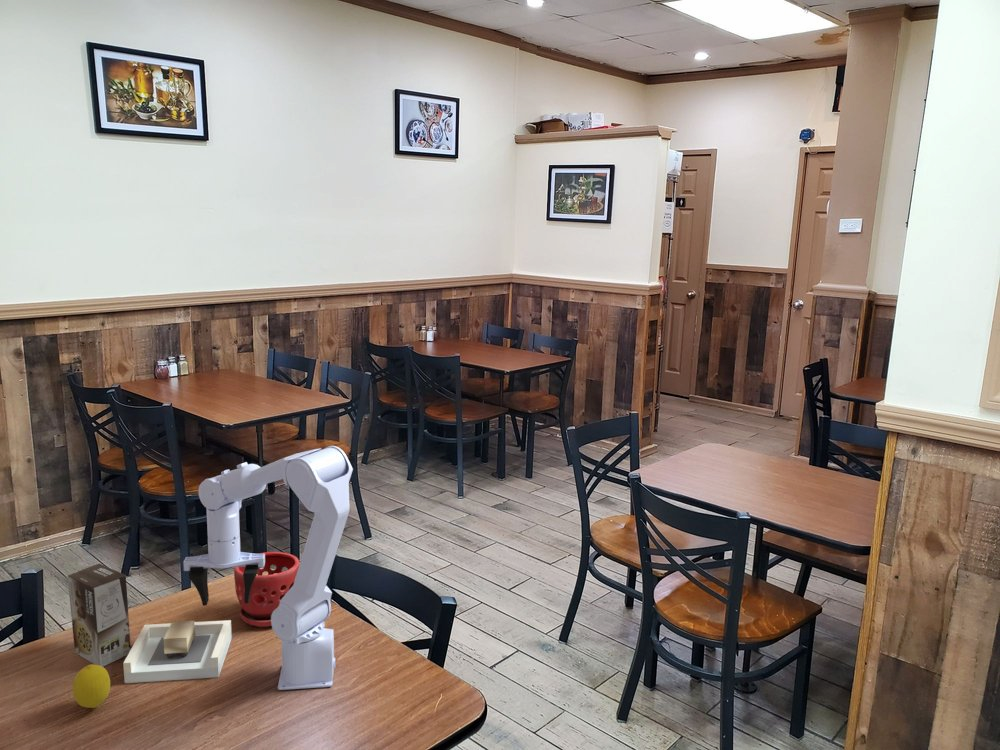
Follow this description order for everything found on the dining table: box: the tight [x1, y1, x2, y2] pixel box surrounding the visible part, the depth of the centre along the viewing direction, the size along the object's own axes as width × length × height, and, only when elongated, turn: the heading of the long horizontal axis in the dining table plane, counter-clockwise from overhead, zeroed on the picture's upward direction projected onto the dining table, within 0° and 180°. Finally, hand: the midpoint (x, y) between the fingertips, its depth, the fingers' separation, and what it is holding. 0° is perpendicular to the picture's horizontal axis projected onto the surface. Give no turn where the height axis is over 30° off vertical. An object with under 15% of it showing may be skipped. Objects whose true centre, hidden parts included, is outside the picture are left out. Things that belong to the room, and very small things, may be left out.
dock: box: [122, 619, 233, 684], centre depth 140 cm, size 16×13×4 cm
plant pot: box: [233, 551, 300, 627], centre depth 156 cm, size 13×13×12 cm
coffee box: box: [67, 563, 132, 667], centre depth 140 cm, size 9×6×16 cm
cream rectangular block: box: [164, 620, 195, 658], centre depth 139 cm, size 4×6×4 cm, turn 9°
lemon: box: [72, 663, 111, 709], centre depth 125 cm, size 6×6×8 cm
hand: (226, 601), depth 143 cm, fingers open, 7 cm apart
